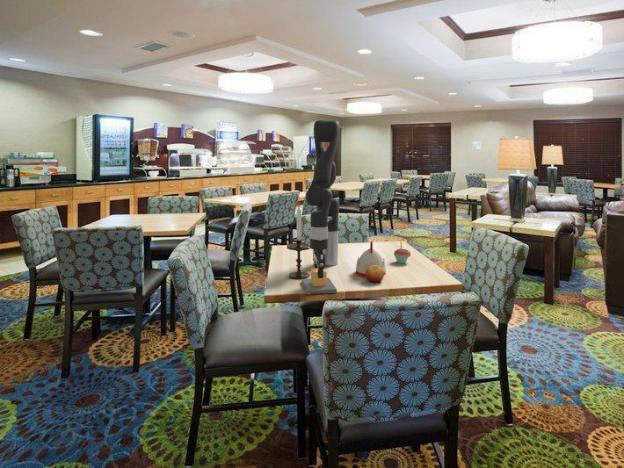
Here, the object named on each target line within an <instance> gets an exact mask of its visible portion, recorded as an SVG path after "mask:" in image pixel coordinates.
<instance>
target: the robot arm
mask: <svg viewBox="0 0 624 468" xmlns="http://www.w3.org/2000/svg"><path fill="white" fill-rule="evenodd" d="M340 132H341V126H340V122H339V121H338V120H333V119H332V120H329V119H327V120H326V119H325V120H324V119H318V120H316V121H315V122H314V124H313V138H314V139H313V141H314V148H315V149H314V150H315V164H314V170H313V177H312V181H311V183H310V186H309V187H308V190H307V191H306V195H305V200H306V203H307V204H308V205H309V206H312V207H313V206H314V207H315V206H316V211H313V212H311V213H310V227H309V228H310V229H309V244H310V250H312V261H313V265H314V266H313V268H318V278H323V269H325V270H326V267H327V266H335V265H338V261H339V259H338V256H339V214H340V213H339V212H340V202H339V199H338V198H335V197H334V195H333V192H332V190H331V187H332V186H333V185H334V183H335V181H336V179H337V165H336V162H335V161H334V159H335V155H336V151H337V148H338V145H339V139H340V134H341V133H340ZM324 143H329V145H328V147H327V149H326V148H325V145H324ZM328 218H331V219H330V220H328Z"/></svg>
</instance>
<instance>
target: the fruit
mask: <svg viewBox="0 0 624 468" xmlns="http://www.w3.org/2000/svg"><path fill="white" fill-rule="evenodd" d="M366 276H367V277H366V278H367V280H368V281H369V282H370V283H378V282H379V283H380V282H382V281H383V280H384V277H385V276H384V271H383V268H381V267H380V266H378V265H372V266H369V267H368V268H367V269H366Z"/></svg>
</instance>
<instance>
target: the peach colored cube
mask: <svg viewBox="0 0 624 468" xmlns="http://www.w3.org/2000/svg"><path fill="white" fill-rule="evenodd" d="M327 272H328V271H327V270H326V268H325V269H323V278H318V268H314V267H313V268H311V269H310V279H311V283H312V285H313V286H326V282H327V278H328V276H327V274H328V273H327Z"/></svg>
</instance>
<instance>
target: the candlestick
mask: <svg viewBox="0 0 624 468" xmlns="http://www.w3.org/2000/svg"><path fill="white" fill-rule="evenodd" d="M300 202H301V201H300V200H299V199H298V201H297V206H298V207H297V209H296V238H295V239H294V241H296V242H293V243H288V244H286V249H287V250H289V251H295V252H296V253H297V254H296V255H297V258H296V259H295V262H296V265H295V266H296V268H297V270H296V271H292V272H290V273H288V278H290V279H293V280H302V279H305V278H306V279H309V277H310V276H309V275H310V274H309V273H308V272H306V271H301V267H302V265H301V263H302V261H303V260H302V258H301V252H302V251H308V250H311V248H310V243H305V242H302V241H304V239H303V238H302V209H301V207H300V205H301V203H300Z"/></svg>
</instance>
